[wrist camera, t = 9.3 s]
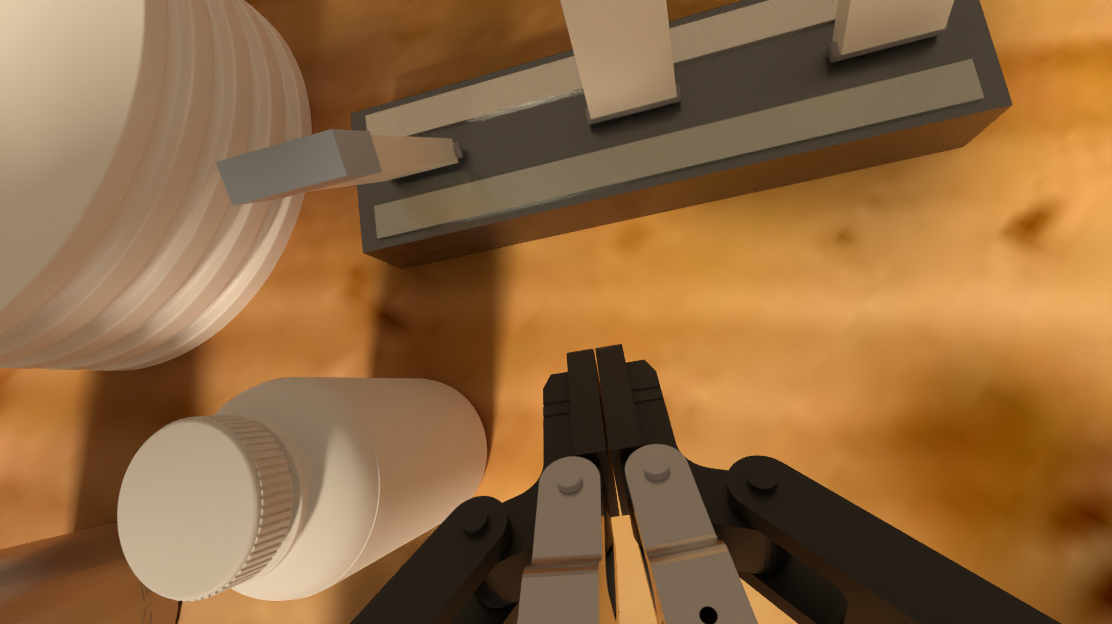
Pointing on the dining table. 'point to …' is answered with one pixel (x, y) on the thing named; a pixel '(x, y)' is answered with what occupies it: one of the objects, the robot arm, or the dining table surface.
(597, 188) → the switch strip
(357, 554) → the pill bottle
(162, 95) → the plate stack
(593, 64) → the lever amber
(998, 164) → the dining table surface
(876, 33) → the lever sage
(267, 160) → the lever slate
